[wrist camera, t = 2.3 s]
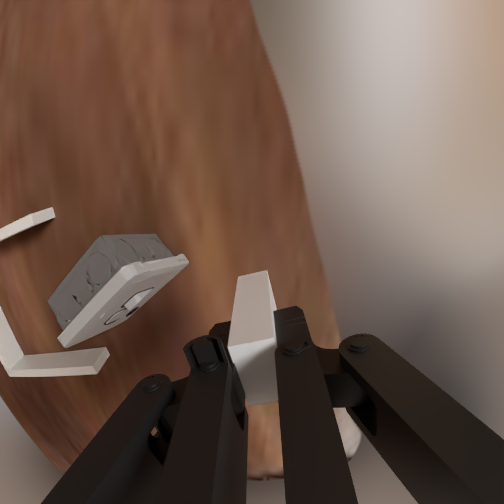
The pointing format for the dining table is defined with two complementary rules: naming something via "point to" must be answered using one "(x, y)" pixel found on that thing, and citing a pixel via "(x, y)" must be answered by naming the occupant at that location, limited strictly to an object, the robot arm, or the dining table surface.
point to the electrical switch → (111, 284)
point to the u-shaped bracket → (50, 364)
